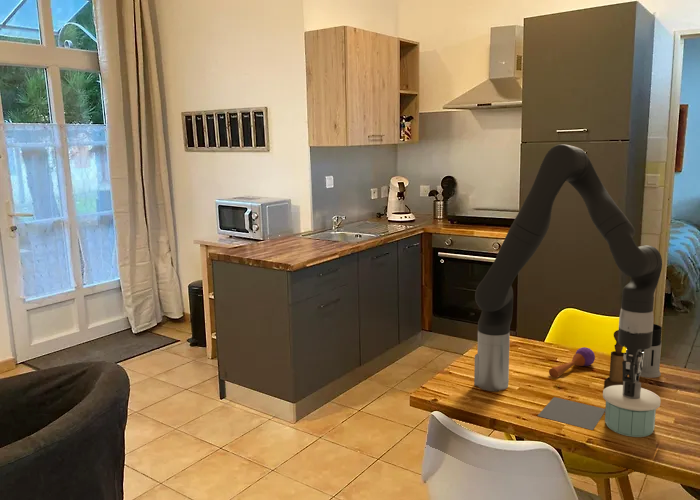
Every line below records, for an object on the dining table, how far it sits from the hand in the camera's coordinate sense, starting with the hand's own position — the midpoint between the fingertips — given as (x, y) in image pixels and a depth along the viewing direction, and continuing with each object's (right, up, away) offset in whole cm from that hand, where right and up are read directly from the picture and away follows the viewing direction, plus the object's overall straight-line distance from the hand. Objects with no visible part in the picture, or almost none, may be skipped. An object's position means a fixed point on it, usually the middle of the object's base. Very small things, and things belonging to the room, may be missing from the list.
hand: (631, 392), depth 144 cm
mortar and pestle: (+8, -6, +25) cm, 26 cm away
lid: (0, -2, 0) cm, 2 cm away
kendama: (+1, -3, +40) cm, 40 cm away
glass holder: (+21, -3, +34) cm, 40 cm away
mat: (-11, -8, +10) cm, 17 cm away
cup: (0, -10, +2) cm, 10 cm away
